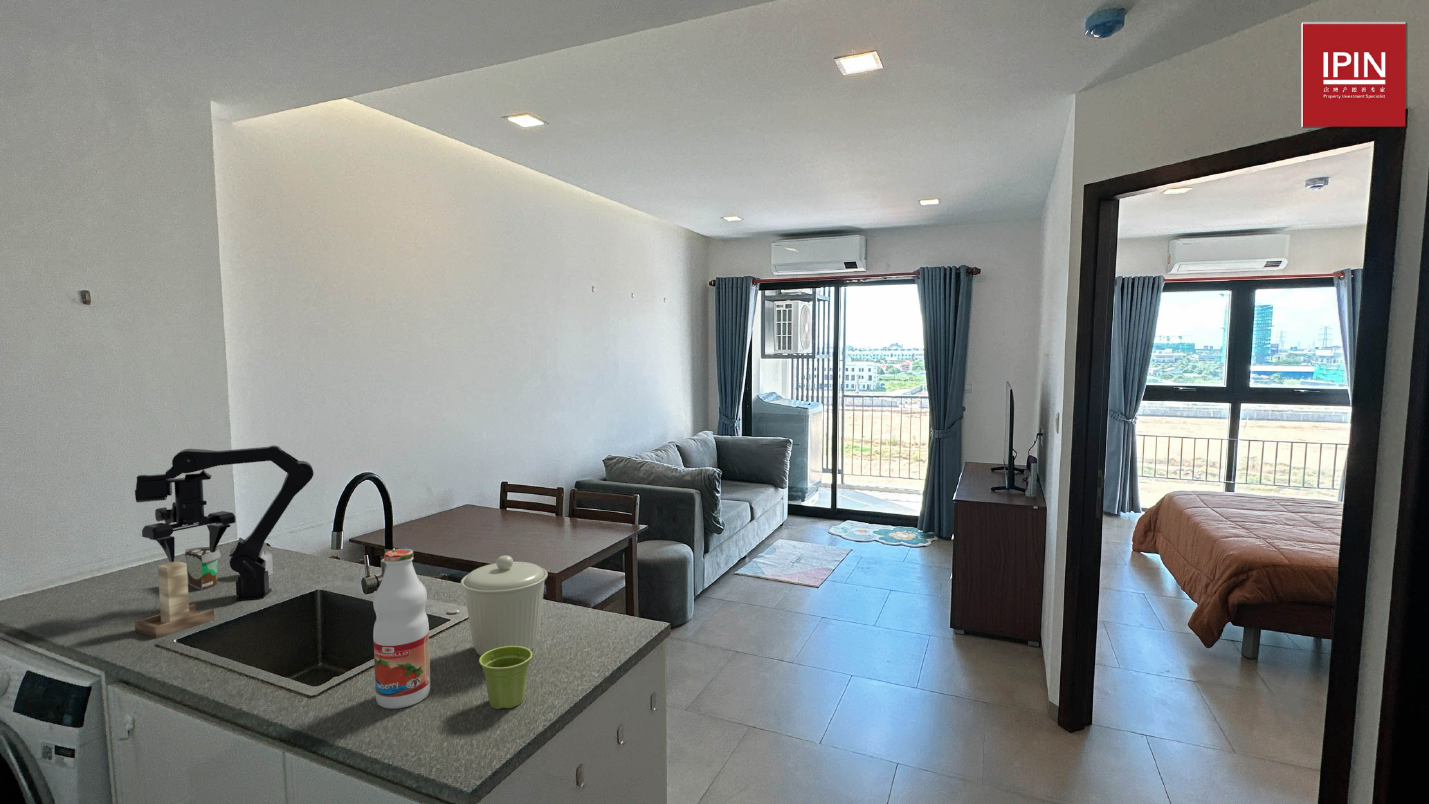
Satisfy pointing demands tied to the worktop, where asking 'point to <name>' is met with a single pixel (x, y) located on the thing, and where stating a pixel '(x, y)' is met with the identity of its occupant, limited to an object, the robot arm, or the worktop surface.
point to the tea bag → (267, 558)
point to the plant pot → (506, 675)
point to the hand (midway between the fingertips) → (192, 556)
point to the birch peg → (173, 591)
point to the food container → (202, 567)
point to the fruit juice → (401, 634)
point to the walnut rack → (172, 623)
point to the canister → (504, 604)
